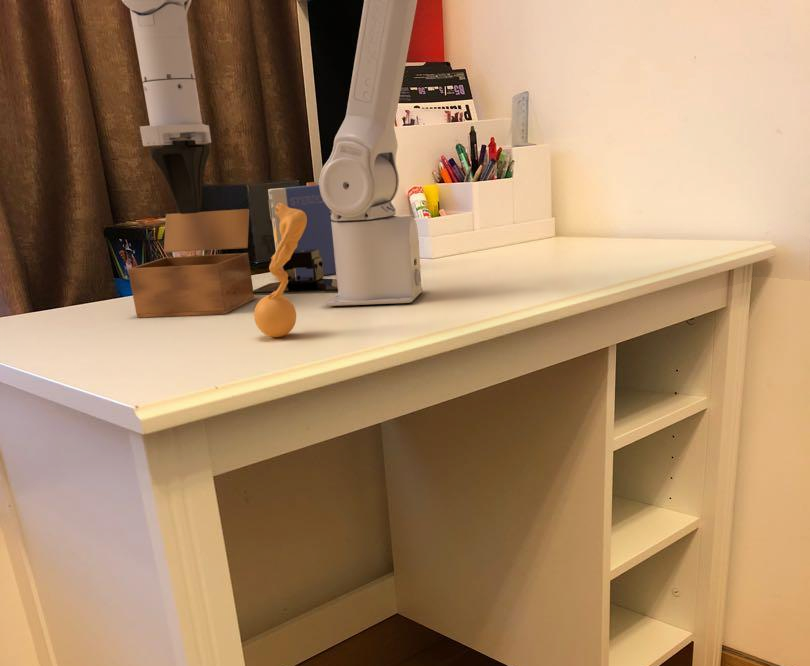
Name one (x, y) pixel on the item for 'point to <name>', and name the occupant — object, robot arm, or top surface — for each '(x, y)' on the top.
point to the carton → (191, 285)
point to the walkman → (316, 226)
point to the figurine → (281, 276)
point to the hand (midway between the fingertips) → (190, 213)
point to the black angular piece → (303, 284)
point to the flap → (206, 230)
